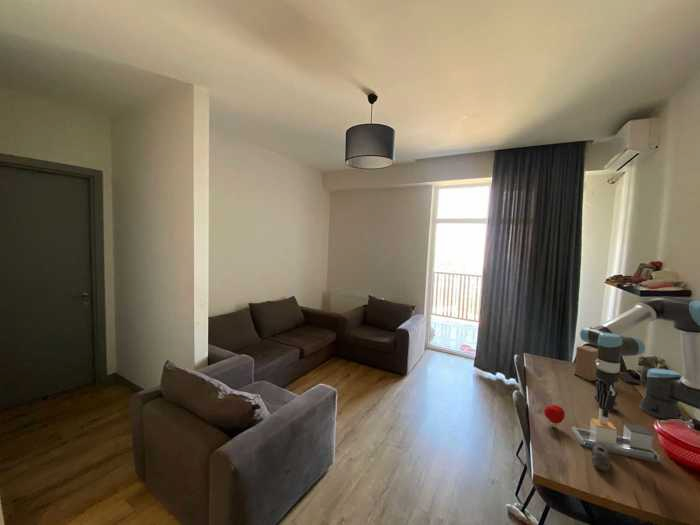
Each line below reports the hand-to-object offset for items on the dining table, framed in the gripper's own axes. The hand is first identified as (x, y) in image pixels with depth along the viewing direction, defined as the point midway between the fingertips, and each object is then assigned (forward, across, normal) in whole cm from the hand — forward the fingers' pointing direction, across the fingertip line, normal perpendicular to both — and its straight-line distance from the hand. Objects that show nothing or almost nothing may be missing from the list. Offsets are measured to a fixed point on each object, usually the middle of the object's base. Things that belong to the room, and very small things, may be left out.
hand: (603, 422), depth 124 cm
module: (+9, 0, 0) cm, 9 cm away
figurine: (+10, -38, +17) cm, 43 cm away
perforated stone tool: (+10, +14, -6) cm, 18 cm away
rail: (+10, 0, +4) cm, 10 cm away
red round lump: (+10, -6, -16) cm, 20 cm away
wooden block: (+10, -79, +24) cm, 83 cm away
